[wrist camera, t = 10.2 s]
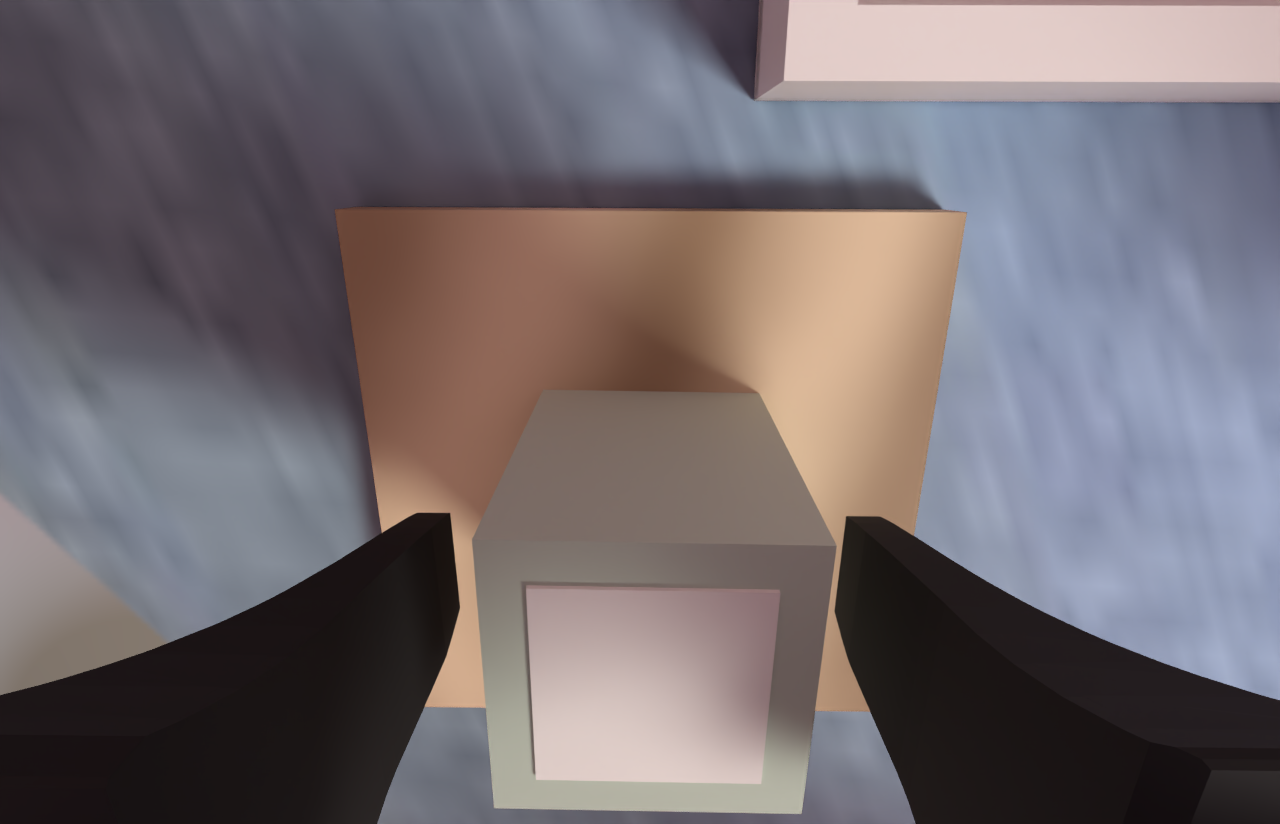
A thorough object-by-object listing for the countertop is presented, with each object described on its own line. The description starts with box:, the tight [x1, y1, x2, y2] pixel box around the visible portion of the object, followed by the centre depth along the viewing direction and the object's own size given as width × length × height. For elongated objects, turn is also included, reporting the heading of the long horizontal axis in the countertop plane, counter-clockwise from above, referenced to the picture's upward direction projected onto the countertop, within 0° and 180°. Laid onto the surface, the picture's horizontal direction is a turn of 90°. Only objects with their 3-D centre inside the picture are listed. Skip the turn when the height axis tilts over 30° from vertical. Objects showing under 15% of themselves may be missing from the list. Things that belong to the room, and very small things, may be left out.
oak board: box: [335, 207, 967, 712], centre depth 15 cm, size 12×12×1 cm
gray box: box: [472, 390, 837, 814], centre depth 12 cm, size 4×4×6 cm
